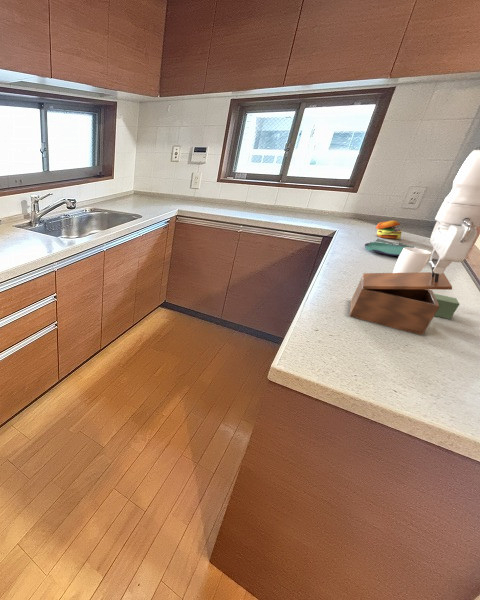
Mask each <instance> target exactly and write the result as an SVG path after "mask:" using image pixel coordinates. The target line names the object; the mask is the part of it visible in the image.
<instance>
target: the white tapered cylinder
mask: <svg viewBox="0 0 480 600" xmlns="http://www.w3.org/2000/svg"><path fill="white" fill-rule="evenodd" d="M431 256H432V252H431V251H430V250H426V249H422V248H417V247H414V248H410V247H406V248H403V250H402V252H401V254H400V255H399V256H397V260H396V262H395V264H394V268H393V271H392V273H421V272H422V271H423V270H424V268H425V267H426V265H427V263H428V262H429V261H430V259H431Z"/></svg>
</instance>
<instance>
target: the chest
mask: <svg viewBox="0 0 480 600" xmlns="http://www.w3.org/2000/svg"><path fill="white" fill-rule="evenodd" d="M434 294H435V293H434V291H433V289H363V275H362V276H361V278H360V280H359V282H358V284H357V286H356V288H355V291H354V293H353V295H352V297H351V299H350V306H349V317H350V318H354V319H358V320H363V321H366V322H370V323H374V324H377V325H382V326H385V327H389V328H392V329H397V330H400V331H404V332H408V333H412V334H415V335H418V336H423V335H424V333H425V332H426V330H427V328H428V327H429V324H430V323H431V322H432V320H433V319H434V317H435V316H434V315H435V313H436V312H437V310H438V308H439V307H440V306H439V304H438V302H437V300H436V298H435V295H434Z"/></svg>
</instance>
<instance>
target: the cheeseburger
mask: <svg viewBox="0 0 480 600" xmlns="http://www.w3.org/2000/svg"><path fill="white" fill-rule="evenodd" d="M400 225H401V224H400V222H398V221H397V220H396V219H395V220H388V221H380V222H379V223H377V225H376V226H375V229H377V232H376V236H377V237H379V238H380V239H393V240H400V239H401V238H402V233H403V231H402V230H401V229H398V228H397V226H400Z"/></svg>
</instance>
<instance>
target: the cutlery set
mask: <svg viewBox="0 0 480 600" xmlns="http://www.w3.org/2000/svg"><path fill="white" fill-rule="evenodd" d="M364 247H365V250H367V251H370V252H375V253H378V254H382V255H387V256H393V257H399V255H400V254H401V252H402V250H403V248H406V247H410V248H416V247H415V246H414V245H409V244H405V243H402V242H394V241H390V240H389V241H388V240H386V239H382V238H376V239H375V241H370V242H366V243H364Z"/></svg>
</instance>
